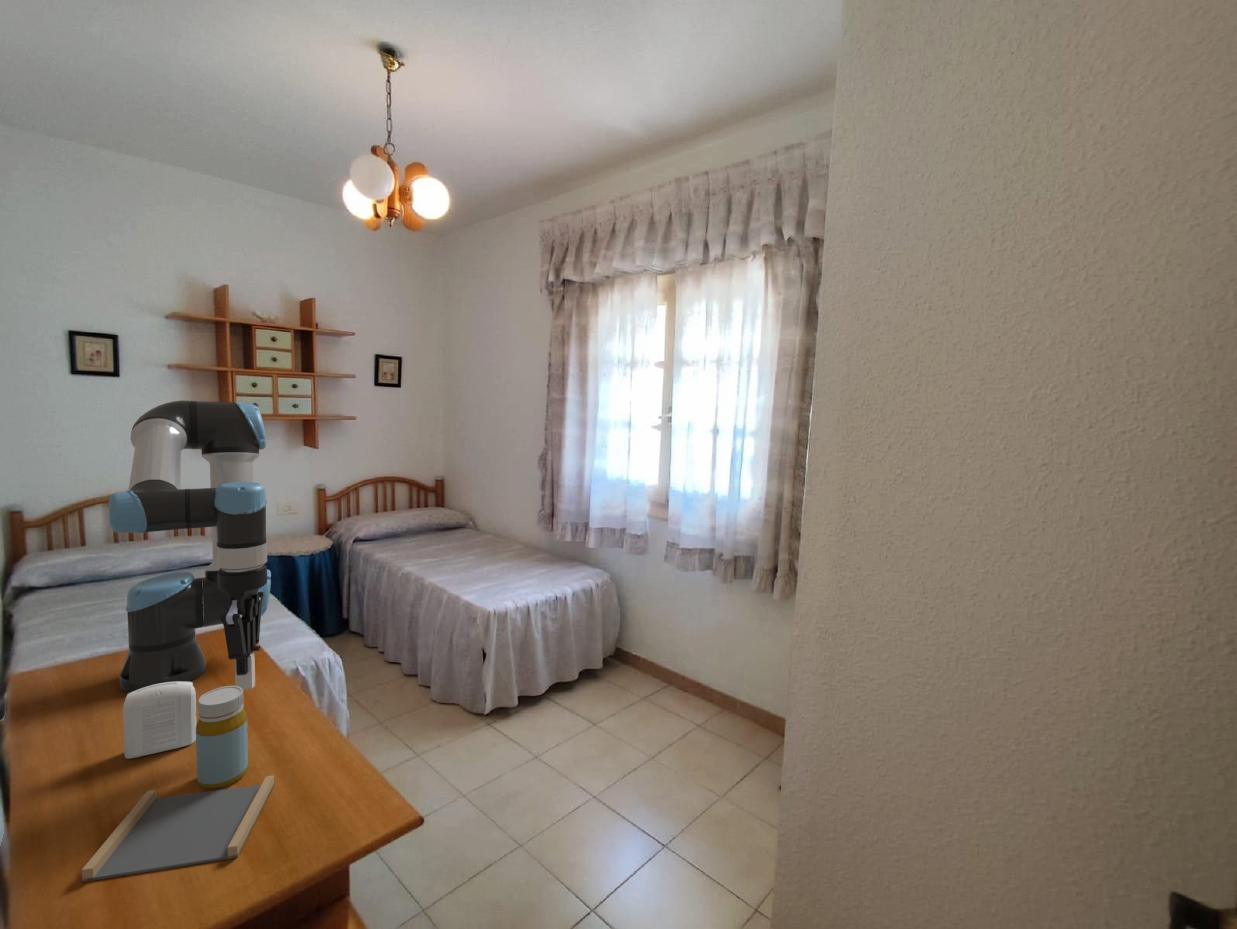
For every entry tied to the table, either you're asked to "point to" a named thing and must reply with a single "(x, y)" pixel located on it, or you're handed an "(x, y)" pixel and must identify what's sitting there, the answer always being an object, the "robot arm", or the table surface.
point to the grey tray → (180, 831)
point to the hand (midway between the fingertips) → (245, 687)
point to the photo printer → (159, 718)
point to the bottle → (221, 737)
